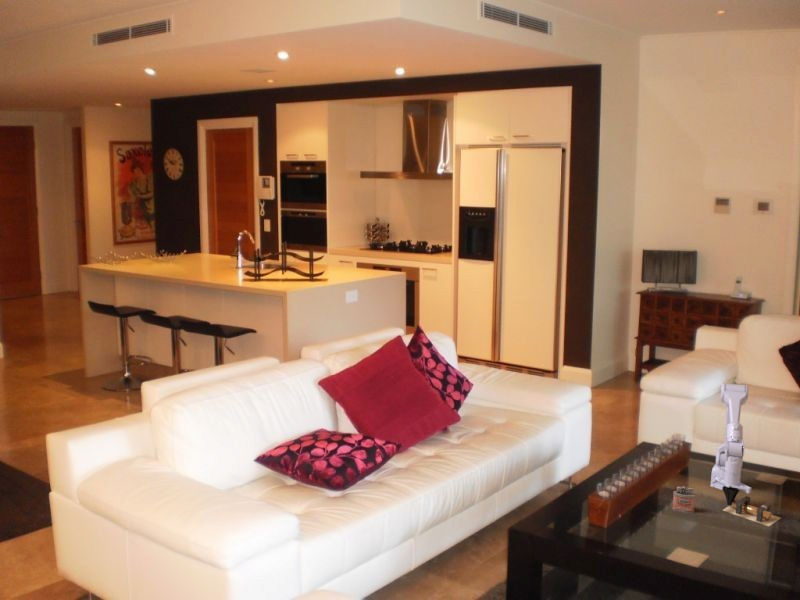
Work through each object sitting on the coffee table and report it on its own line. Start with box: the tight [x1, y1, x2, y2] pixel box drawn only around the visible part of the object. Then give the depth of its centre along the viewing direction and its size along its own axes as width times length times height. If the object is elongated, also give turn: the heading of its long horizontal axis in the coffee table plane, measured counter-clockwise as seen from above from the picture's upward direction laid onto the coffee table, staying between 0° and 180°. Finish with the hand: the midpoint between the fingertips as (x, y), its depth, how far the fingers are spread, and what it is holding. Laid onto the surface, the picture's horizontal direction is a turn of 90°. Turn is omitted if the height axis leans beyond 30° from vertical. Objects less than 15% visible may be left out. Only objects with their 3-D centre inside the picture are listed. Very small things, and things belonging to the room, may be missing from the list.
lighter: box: [672, 486, 696, 514], centre depth 320 cm, size 8×3×10 cm, turn 68°
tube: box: [732, 499, 772, 520], centre depth 317 cm, size 14×3×3 cm, turn 42°
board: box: [722, 495, 781, 527], centre depth 317 cm, size 18×10×5 cm, turn 42°
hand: (730, 504), depth 323 cm, fingers closed
